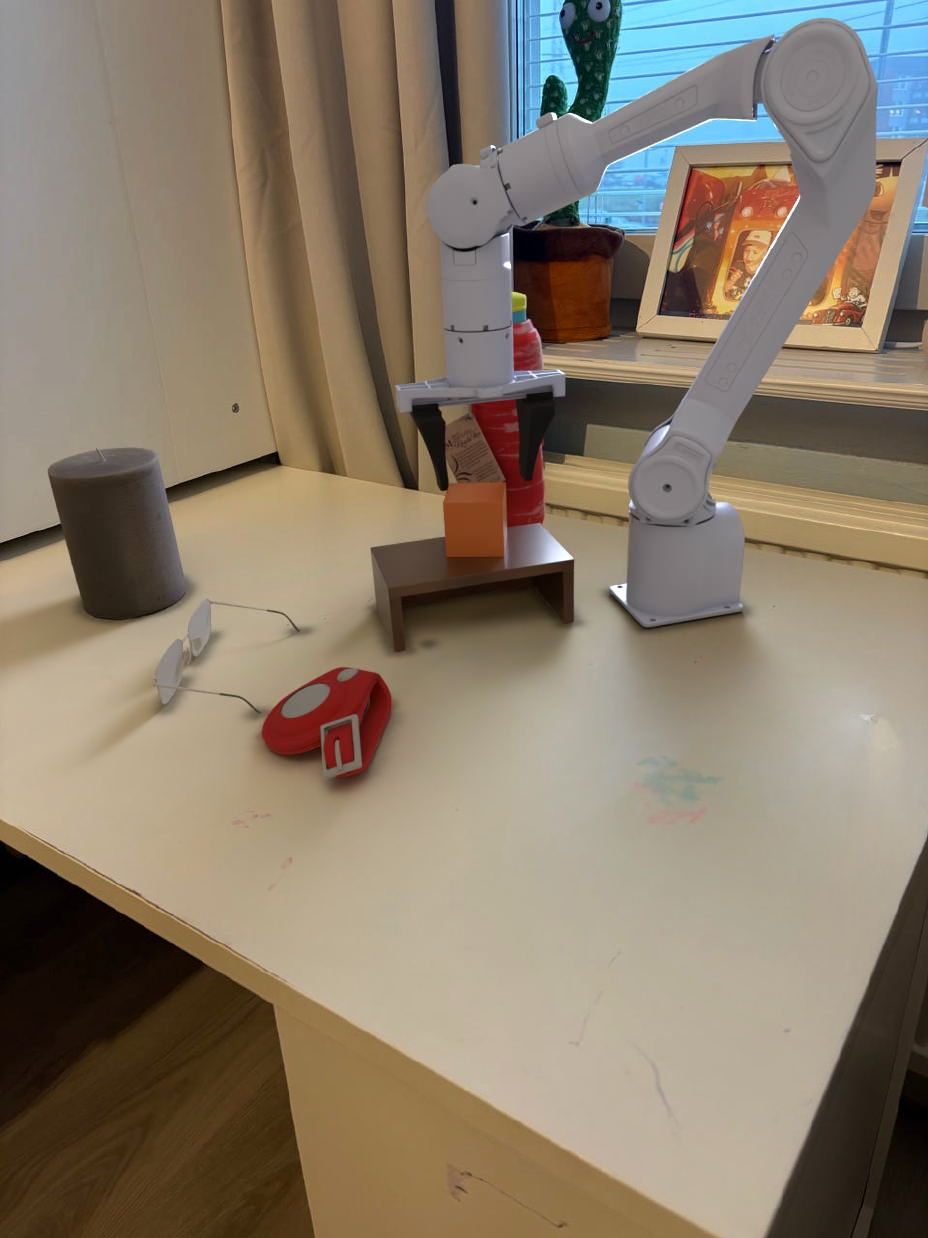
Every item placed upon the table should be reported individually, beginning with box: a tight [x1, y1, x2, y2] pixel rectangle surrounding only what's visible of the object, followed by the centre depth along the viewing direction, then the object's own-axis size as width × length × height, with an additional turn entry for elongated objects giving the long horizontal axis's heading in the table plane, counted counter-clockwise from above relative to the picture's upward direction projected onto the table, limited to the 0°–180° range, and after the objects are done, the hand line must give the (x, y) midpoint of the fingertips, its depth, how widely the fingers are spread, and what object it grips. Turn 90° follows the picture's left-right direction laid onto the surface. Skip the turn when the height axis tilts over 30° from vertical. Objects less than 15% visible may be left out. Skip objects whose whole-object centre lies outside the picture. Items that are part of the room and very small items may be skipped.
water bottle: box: [445, 291, 546, 528], centre depth 90 cm, size 12×8×25 cm, turn 124°
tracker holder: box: [261, 666, 393, 779], centre depth 64 cm, size 12×4×10 cm
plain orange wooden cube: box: [442, 482, 507, 557], centre depth 79 cm, size 5×5×5 cm
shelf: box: [369, 523, 575, 653], centre depth 80 cm, size 16×9×6 cm, turn 105°
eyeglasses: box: [152, 598, 301, 715], centre depth 74 cm, size 14×8×4 cm, turn 176°
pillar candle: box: [47, 446, 187, 620], centre depth 85 cm, size 10×10×15 cm
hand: (484, 482), depth 81 cm, fingers open, 7 cm apart
